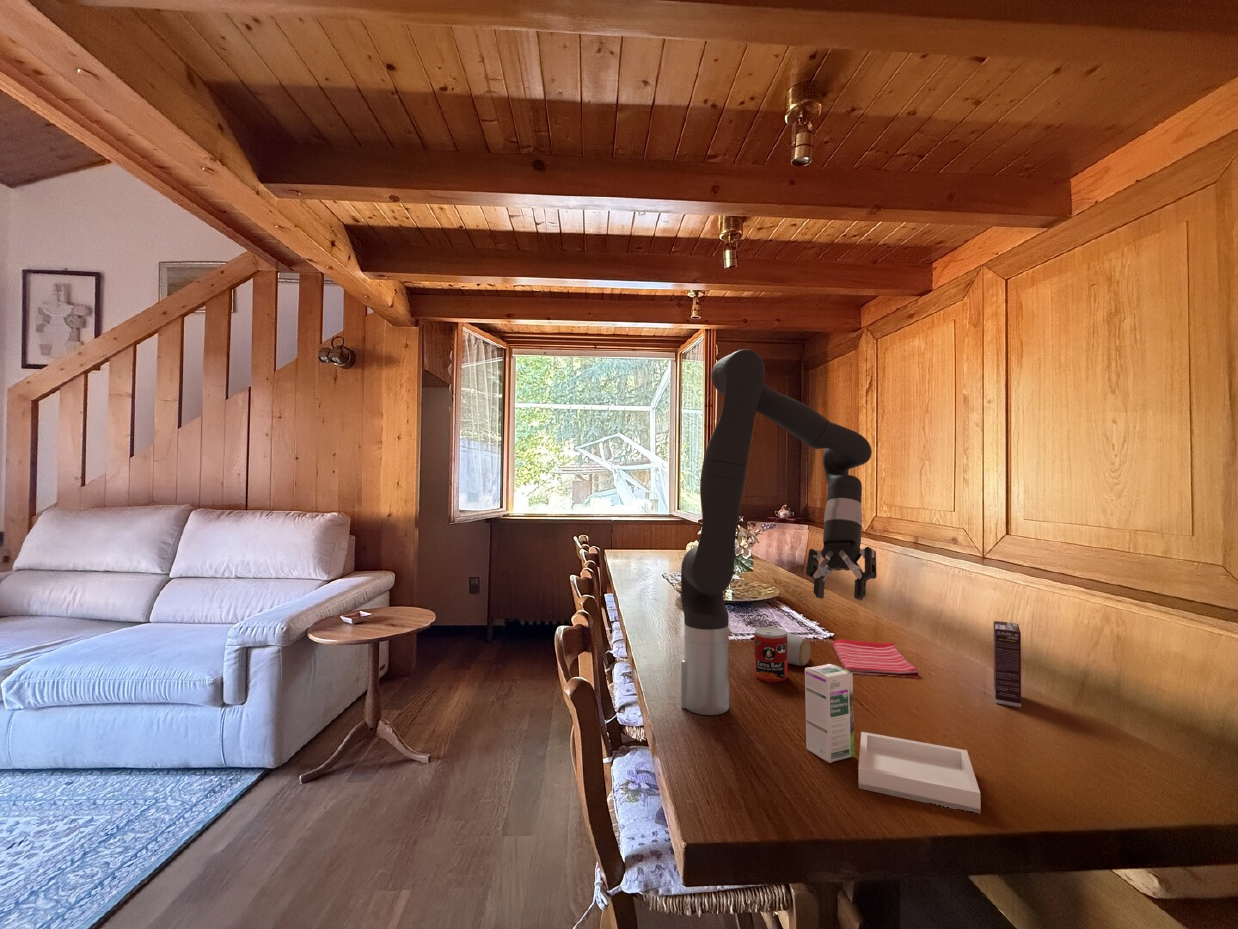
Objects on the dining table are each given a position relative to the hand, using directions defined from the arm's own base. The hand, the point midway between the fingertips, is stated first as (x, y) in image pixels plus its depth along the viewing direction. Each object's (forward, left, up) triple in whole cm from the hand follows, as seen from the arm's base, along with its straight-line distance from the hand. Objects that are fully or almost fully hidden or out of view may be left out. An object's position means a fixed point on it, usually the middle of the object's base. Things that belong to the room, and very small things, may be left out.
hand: (838, 598), depth 115 cm
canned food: (-16, +16, -24) cm, 33 cm away
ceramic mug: (-13, +30, -24) cm, 40 cm away
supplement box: (+33, +24, -24) cm, 47 cm away
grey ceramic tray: (+13, -21, -23) cm, 34 cm away
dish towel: (+6, +40, -24) cm, 47 cm away
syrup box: (0, -18, -24) cm, 30 cm away
